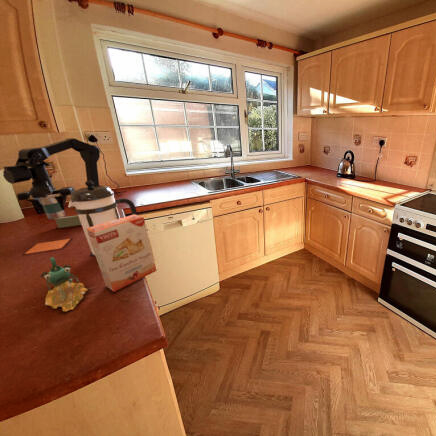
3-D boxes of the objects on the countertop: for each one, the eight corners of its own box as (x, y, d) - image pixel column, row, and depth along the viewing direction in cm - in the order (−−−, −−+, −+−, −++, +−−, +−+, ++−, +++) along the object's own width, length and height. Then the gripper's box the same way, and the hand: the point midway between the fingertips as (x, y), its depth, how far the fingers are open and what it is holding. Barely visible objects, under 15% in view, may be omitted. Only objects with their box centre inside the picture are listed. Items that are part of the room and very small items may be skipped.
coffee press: (123, 261, 93) (99, 184, 82) (79, 264, 92) (48, 186, 81) (145, 241, 109) (127, 174, 98) (108, 242, 108) (86, 175, 97)
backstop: (88, 223, 130) (84, 214, 128) (87, 224, 129) (83, 215, 127) (59, 226, 126) (56, 217, 124) (58, 228, 124) (54, 219, 123)
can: (68, 213, 119) (60, 193, 115) (63, 217, 114) (54, 197, 110) (51, 215, 117) (42, 195, 113) (45, 220, 111) (35, 199, 107)
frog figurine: (84, 277, 84) (71, 240, 77) (93, 308, 72) (78, 267, 66) (46, 289, 78) (28, 250, 71) (49, 325, 66) (27, 282, 60)
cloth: (70, 239, 112) (70, 238, 112) (61, 248, 103) (61, 248, 103) (36, 244, 108) (36, 243, 108) (24, 254, 99) (24, 254, 99)
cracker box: (114, 293, 75) (93, 232, 68) (105, 287, 78) (84, 227, 71) (158, 271, 86) (144, 216, 79) (148, 266, 89) (134, 213, 82)
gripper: (1, 184, 98) (18, 220, 104) (59, 179, 105) (73, 213, 111) (16, 178, 107) (32, 211, 113) (69, 174, 114) (81, 205, 120)
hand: (54, 210), depth 114 cm, fingers closed on can, 6 cm apart
